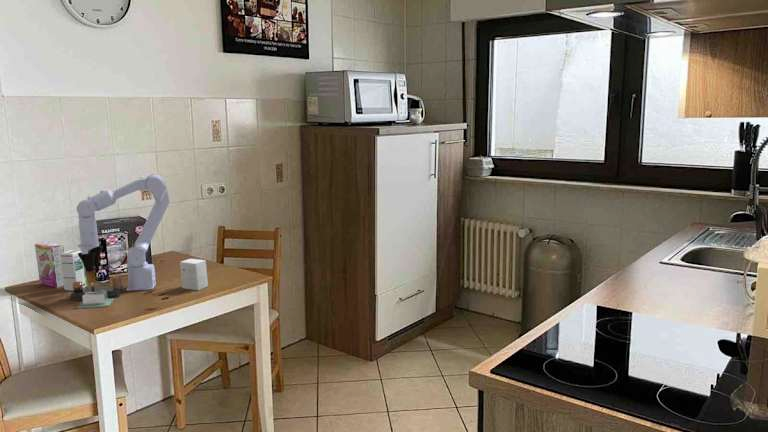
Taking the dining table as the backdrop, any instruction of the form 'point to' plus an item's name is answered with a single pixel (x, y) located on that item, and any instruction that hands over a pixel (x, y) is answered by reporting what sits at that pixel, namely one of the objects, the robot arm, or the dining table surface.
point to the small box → (194, 274)
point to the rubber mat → (96, 305)
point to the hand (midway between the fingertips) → (92, 268)
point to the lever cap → (95, 298)
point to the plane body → (111, 290)
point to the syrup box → (72, 269)
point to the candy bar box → (49, 264)
